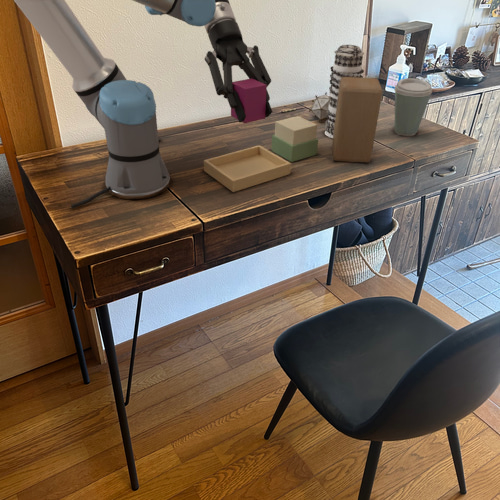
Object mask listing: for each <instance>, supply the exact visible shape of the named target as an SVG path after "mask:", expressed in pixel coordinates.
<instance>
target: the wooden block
mask: <svg viewBox="0 0 500 500" xmlns="http://www.w3.org/2000/svg"><path fill="white" fill-rule="evenodd" d="M382 97H383V88H382V85H381V83H380V81H379V79H378V78H375V77H363V78H358V77H343V78H341V80H340V85H339V93H338V101H337V109H336V118H335V126H334V134H333V138H332V142H331V143H332V144H331V149H332V158H333V160H334V161H336V162H350V163H352V162H353V163H366V164H367V163H370V161H371V160H372V155H373V154H372V153H373V149H374V144H375V143H374V142H375V138H376V133H377V125H378V120H379V114H380V109H381V104H382Z"/></svg>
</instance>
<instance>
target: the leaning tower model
mask: <svg viewBox="0 0 500 500" xmlns="http://www.w3.org/2000/svg"><path fill="white" fill-rule="evenodd" d="M333 52H334V54H335V55H334V62H333V65H332V66H330V68H329V69H330V72H331V73H330V75H329V78H330V79H329V84H330V86H329V88H328V89H329V92H328V96H329V98H330V104H329V108H328V109H329V110H327V114H328V115H327V118H326V119H327V120H325V126H324V129H325V131H324V134H325V136H327V137H328V138H330V139H333V134H334V126H335V118H336V109H337V101H338V93H339V85H340V80H341V78H343V77H358V78H364V76H363V75H362V74H363V73H364V72H365V70H364V69H363V57H364V54H365V53H364V51H363V50H362V48H361V47H360V46H358V45H356V44H342V45H340V46H339V47H337V49H336V50H334V51H333Z"/></svg>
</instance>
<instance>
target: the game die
mask: <svg viewBox="0 0 500 500" xmlns="http://www.w3.org/2000/svg"><path fill="white" fill-rule="evenodd" d="M327 94H328V93H327V91H326V92H325V93H324V94H322V95H320V96H318V95H316V94H315V96H314V97H315V99H314V100H311V102H312V106H311V109H308V112H311V113H312V114H313V115H314V118H316V117H317V119H318V120H319V123H322V121H323V120H325V119H327V115H328V114H327V110H329V109H328V108H329V104H330V98H331V97H330V96H329V95H327Z"/></svg>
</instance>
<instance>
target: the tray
mask: <svg viewBox="0 0 500 500" xmlns="http://www.w3.org/2000/svg"><path fill="white" fill-rule="evenodd" d="M291 169H292V162H291V161H289V160H287V159H285V158H284V157H282V156H280V155H278V154H277V153H275V152H273V151H271V150H269V149H267V148H266V147H263V146H262V145H260V144H259V145H255V146H251V147H248V148H247V147H246V148H245V149H240V150H237V151H232V152H229V153H226V154H222V155H219V156H215V157H211V158H210V157H209V158H207V159H204V160H203V171H204V172H205V173H206V174H208V175H209V176H210V177H212V178H213V179H215V180H216V181H217V182H218V183H220V184H222V185H223V186H224V187H225V188H226V189H228V190H229V191H231V192H233V193H235V192H239V191H241V190H245V189H247V188H250V187H254V186H258V185H260V184H263V183H266V182H267V183H268V182H270V181H272V180H276V179H279V178H282V177H286V176H287V175H288V176H289V175H291Z"/></svg>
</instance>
